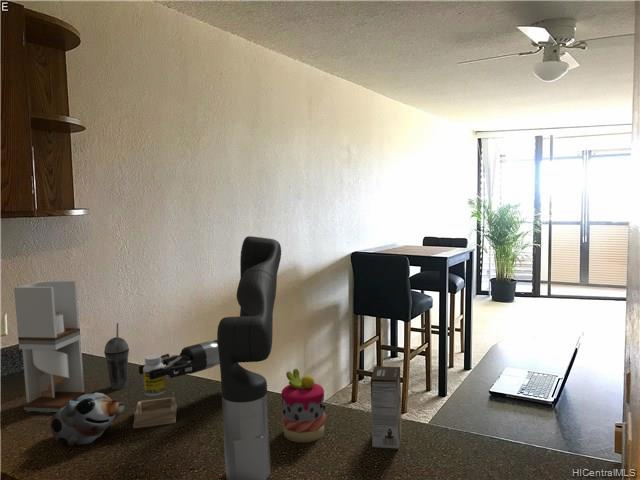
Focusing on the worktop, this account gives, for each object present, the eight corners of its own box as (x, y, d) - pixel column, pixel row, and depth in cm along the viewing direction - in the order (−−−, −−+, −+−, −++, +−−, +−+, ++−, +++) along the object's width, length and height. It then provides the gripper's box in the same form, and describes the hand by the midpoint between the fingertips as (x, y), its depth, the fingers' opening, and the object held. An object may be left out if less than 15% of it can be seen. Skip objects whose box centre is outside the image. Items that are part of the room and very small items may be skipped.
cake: (330, 425, 128) (328, 366, 127) (319, 445, 118) (317, 382, 117) (290, 421, 131) (288, 364, 130) (276, 440, 121) (273, 379, 120)
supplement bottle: (144, 397, 133) (141, 361, 132) (145, 390, 138) (142, 354, 137) (165, 394, 134) (163, 358, 133) (166, 387, 140) (163, 352, 139)
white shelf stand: (24, 411, 143) (13, 287, 140) (50, 396, 153) (41, 281, 150) (60, 412, 141) (51, 287, 138) (84, 397, 151) (76, 280, 148)
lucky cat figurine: (109, 418, 136) (126, 376, 133) (114, 453, 127) (132, 409, 123) (47, 417, 128) (63, 372, 124) (48, 454, 118) (65, 407, 115)
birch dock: (175, 422, 132) (174, 411, 132) (133, 428, 130) (132, 416, 130) (177, 406, 143) (176, 395, 143) (137, 410, 141) (137, 400, 140)
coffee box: (375, 429, 125) (373, 365, 124) (401, 431, 124) (400, 366, 122) (371, 447, 116) (369, 378, 115) (400, 449, 115) (398, 379, 113)
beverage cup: (101, 390, 157) (96, 326, 156) (117, 381, 164) (113, 320, 162) (121, 392, 155) (116, 327, 153) (136, 383, 162) (132, 321, 160)
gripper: (187, 339, 150) (131, 353, 139) (214, 348, 140) (155, 365, 128) (189, 364, 151) (133, 380, 139) (215, 375, 141) (157, 394, 129)
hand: (144, 373), depth 134 cm, fingers closed on supplement bottle, 5 cm apart
